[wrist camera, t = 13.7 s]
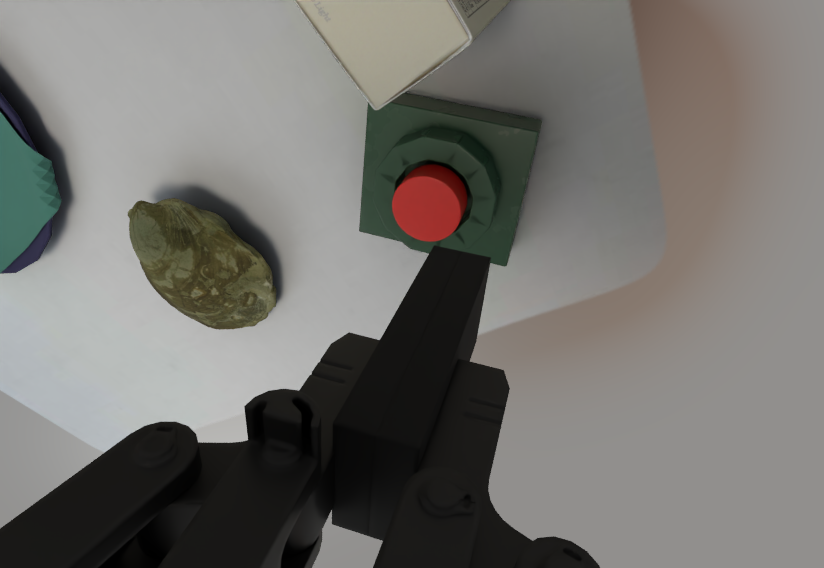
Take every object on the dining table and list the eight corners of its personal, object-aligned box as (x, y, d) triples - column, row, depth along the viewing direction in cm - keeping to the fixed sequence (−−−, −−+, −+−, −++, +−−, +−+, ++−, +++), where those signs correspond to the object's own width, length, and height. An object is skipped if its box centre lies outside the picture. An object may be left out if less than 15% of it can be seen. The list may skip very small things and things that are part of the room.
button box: (542, 119, 30) (535, 143, 27) (511, 249, 35) (501, 283, 31) (381, 87, 32) (355, 106, 29) (370, 216, 36) (347, 245, 33)
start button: (473, 172, 29) (466, 184, 28) (461, 234, 31) (455, 249, 30) (405, 157, 30) (395, 169, 28) (398, 219, 32) (388, 233, 30)
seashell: (214, 355, 44) (89, 338, 36) (196, 276, 48) (77, 243, 39) (311, 291, 41) (199, 255, 33) (285, 209, 44) (176, 157, 36)
